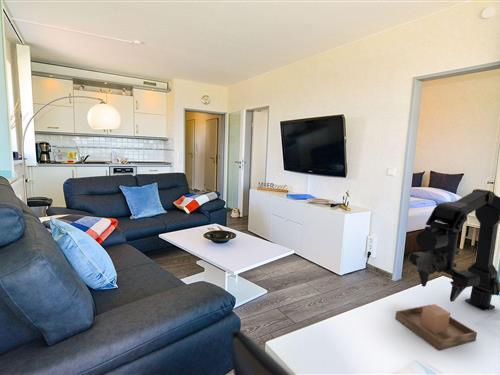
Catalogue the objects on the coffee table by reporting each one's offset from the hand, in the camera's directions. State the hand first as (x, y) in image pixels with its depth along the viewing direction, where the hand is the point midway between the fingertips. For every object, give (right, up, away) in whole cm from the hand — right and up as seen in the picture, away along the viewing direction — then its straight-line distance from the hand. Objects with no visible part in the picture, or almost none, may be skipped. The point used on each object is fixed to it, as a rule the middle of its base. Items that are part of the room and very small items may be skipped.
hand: (437, 293), depth 89 cm
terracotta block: (-1, -10, 0) cm, 10 cm away
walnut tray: (-1, -11, 0) cm, 11 cm away
